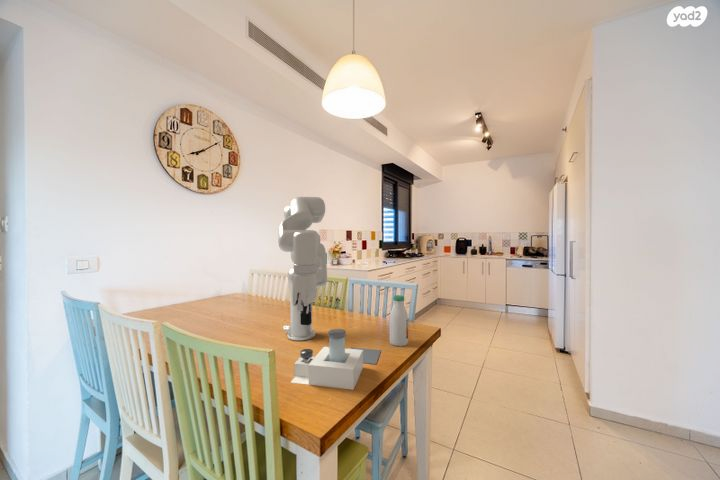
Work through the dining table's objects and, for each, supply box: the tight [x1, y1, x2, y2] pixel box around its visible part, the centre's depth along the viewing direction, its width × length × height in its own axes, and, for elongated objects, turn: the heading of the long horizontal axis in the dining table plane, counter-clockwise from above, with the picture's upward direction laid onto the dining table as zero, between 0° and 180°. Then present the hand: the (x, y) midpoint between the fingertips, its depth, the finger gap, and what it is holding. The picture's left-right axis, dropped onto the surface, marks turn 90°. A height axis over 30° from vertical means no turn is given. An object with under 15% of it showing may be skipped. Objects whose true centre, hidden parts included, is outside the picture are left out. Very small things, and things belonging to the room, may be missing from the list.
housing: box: [289, 346, 364, 391], centre depth 93 cm, size 20×14×7 cm
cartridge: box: [327, 328, 347, 363], centre depth 92 cm, size 6×6×14 cm
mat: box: [349, 347, 382, 366], centre depth 107 cm, size 12×12×1 cm
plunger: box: [299, 348, 314, 363], centre depth 94 cm, size 4×4×6 cm
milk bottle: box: [389, 294, 409, 347], centre depth 121 cm, size 8×8×20 cm
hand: (306, 324), depth 95 cm, fingers closed
